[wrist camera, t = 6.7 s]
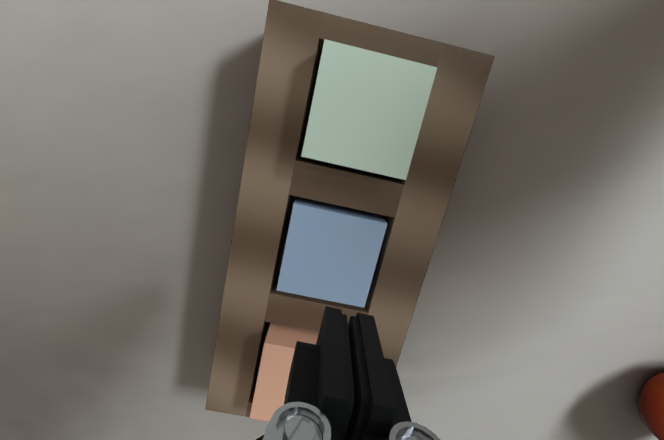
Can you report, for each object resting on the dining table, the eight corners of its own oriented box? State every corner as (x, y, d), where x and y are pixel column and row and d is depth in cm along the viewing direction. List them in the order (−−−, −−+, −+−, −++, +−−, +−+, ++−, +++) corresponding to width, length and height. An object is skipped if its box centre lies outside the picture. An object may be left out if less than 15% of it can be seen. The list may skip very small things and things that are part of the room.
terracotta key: (272, 316, 22) (264, 342, 19) (352, 331, 23) (355, 360, 20) (259, 383, 24) (249, 418, 21) (334, 397, 24) (335, 432, 21)
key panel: (280, 25, 20) (269, -2, 16) (463, 71, 21) (494, 56, 17) (223, 369, 26) (205, 409, 22) (367, 395, 27) (373, 438, 23)
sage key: (325, 54, 18) (324, 39, 15) (420, 78, 19) (437, 67, 16) (305, 153, 20) (301, 156, 17) (394, 174, 20) (405, 180, 17)
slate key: (298, 194, 22) (293, 203, 19) (379, 212, 22) (387, 223, 19) (282, 271, 23) (276, 290, 20) (359, 286, 23) (364, 307, 20)
